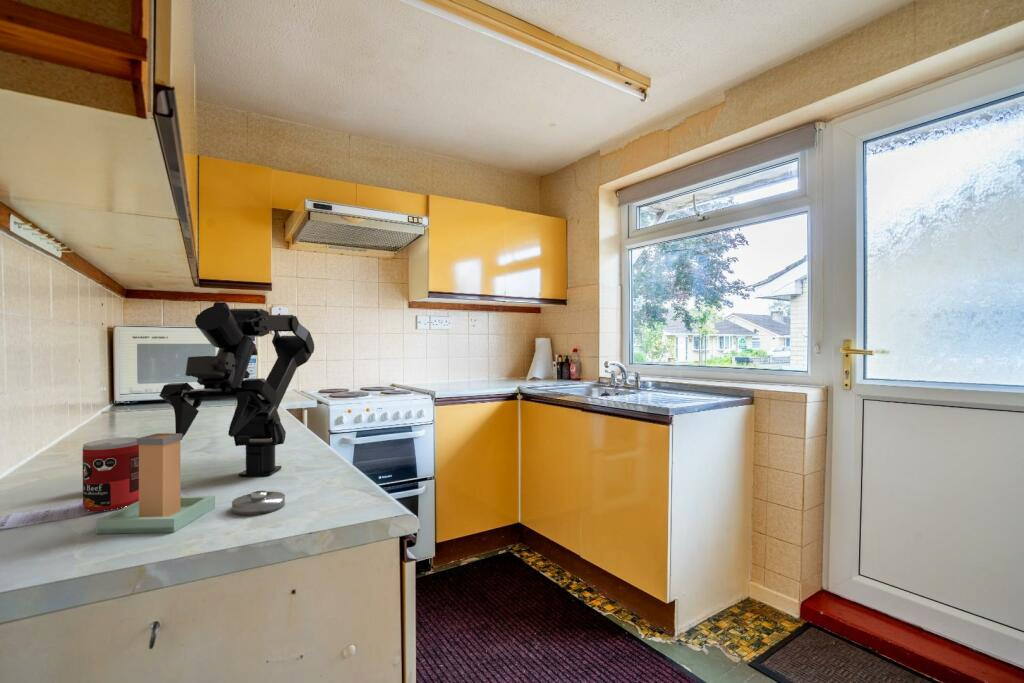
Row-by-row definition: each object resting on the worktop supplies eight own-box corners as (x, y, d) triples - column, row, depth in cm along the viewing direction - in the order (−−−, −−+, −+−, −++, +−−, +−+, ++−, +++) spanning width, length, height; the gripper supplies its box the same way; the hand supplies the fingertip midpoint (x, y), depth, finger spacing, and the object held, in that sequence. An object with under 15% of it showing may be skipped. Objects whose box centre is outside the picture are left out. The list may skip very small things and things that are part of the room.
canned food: (73, 508, 83) (73, 443, 83) (128, 495, 90) (128, 435, 90) (95, 515, 80) (95, 447, 80) (150, 501, 87) (150, 439, 87)
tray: (148, 508, 83) (148, 496, 83) (215, 507, 84) (215, 495, 84) (96, 533, 72) (96, 520, 72) (174, 532, 73) (174, 518, 73)
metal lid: (246, 500, 87) (246, 486, 87) (292, 499, 88) (292, 485, 88) (222, 516, 79) (222, 500, 79) (272, 515, 80) (272, 499, 80)
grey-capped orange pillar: (157, 510, 80) (157, 433, 80) (182, 510, 80) (182, 433, 80) (136, 519, 76) (136, 438, 76) (163, 519, 76) (163, 438, 76)
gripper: (157, 340, 88) (119, 418, 79) (260, 334, 87) (233, 412, 78) (193, 373, 97) (162, 447, 88) (286, 368, 97) (265, 441, 87)
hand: (204, 437), depth 85 cm, fingers open, 9 cm apart
